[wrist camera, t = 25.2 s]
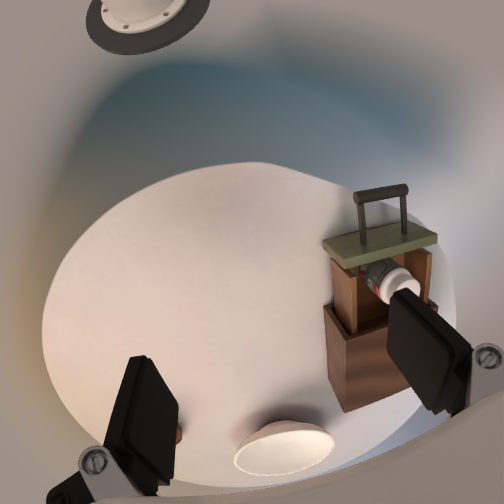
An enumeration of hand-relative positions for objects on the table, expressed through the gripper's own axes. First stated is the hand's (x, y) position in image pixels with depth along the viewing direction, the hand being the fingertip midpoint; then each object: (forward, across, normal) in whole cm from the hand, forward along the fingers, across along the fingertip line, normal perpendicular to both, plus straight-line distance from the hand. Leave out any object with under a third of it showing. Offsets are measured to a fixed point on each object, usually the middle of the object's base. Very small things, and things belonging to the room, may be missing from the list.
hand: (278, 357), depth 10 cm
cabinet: (+25, -16, +24) cm, 38 cm away
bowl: (+24, +2, +45) cm, 51 cm away
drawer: (+24, -16, +10) cm, 31 cm away
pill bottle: (+23, -16, +11) cm, 30 cm away
